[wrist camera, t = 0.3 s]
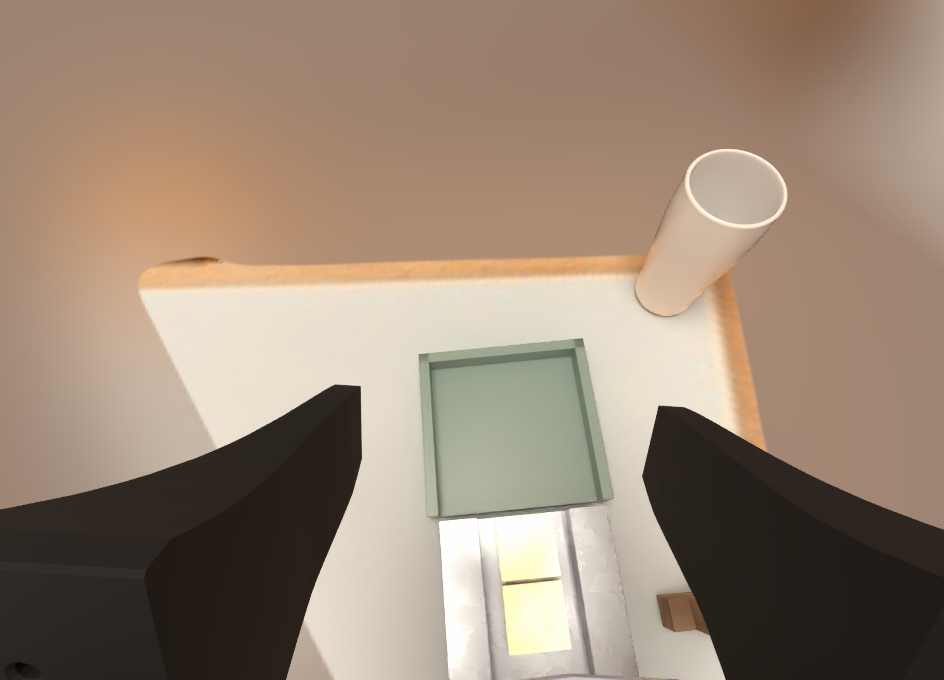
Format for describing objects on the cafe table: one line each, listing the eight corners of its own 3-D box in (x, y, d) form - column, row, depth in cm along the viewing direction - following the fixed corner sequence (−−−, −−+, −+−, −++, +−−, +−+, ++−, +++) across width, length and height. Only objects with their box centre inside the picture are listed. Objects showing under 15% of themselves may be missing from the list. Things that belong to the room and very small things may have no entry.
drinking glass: (649, 336, 44) (722, 243, 31) (612, 277, 47) (664, 166, 33) (713, 309, 45) (812, 207, 31) (673, 252, 48) (749, 134, 34)
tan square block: (565, 641, 34) (571, 649, 31) (508, 647, 34) (509, 655, 31) (556, 577, 35) (561, 580, 33) (501, 583, 35) (502, 586, 33)
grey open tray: (638, 759, 33) (660, 790, 29) (461, 777, 33) (457, 811, 28) (593, 508, 39) (606, 504, 35) (444, 523, 39) (439, 521, 35)
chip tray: (605, 501, 39) (614, 497, 36) (431, 518, 39) (427, 516, 36) (576, 351, 44) (582, 338, 41) (423, 366, 44) (418, 354, 41)
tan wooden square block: (555, 573, 35) (560, 575, 33) (501, 578, 35) (501, 581, 33) (547, 515, 37) (551, 513, 35) (495, 520, 37) (495, 519, 35)
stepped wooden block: (730, 619, 36) (779, 634, 30) (662, 626, 36) (698, 642, 30) (722, 588, 36) (768, 598, 30) (656, 595, 36) (689, 606, 30)
